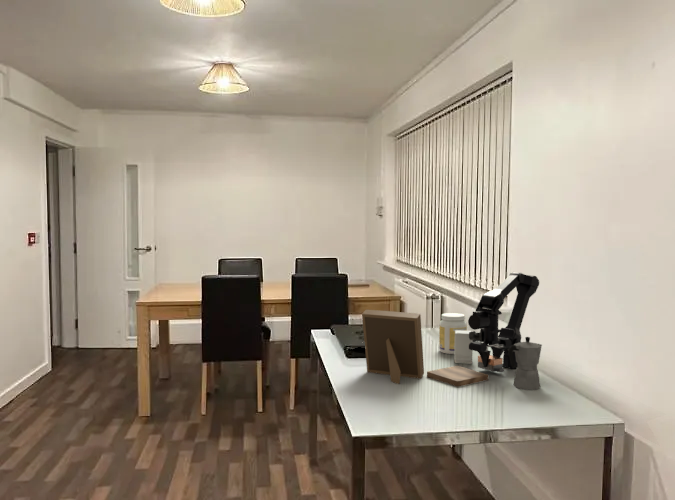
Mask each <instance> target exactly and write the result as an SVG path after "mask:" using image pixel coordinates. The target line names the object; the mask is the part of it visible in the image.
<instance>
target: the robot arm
mask: <svg viewBox="0 0 675 500" xmlns="http://www.w3.org/2000/svg"><path fill="white" fill-rule="evenodd" d="M539 285H540V279H538V277H537V276H536V275H530V274H525V273H522V272H515V271H513V272H509V275H508V276H507V278H505V279H504V280H503V281H502V282H501V283H499V285H498V286H497V287H496V288H494V289H493V290H490V291H489V290H488V291H487V292H486V293H484V294H483V295H482V296H481V298H480V299H479V302H478V304H477V306H476V309H475V310H473V311H472V314H471V315H469V317H468V320H467V324H468V326H469V328H471V331H472V332H469V339H470V340H472V341H473V342H470V343H469V349H470V350H472V351H474V352H477V353H478V354H479V356H481V359H482V362H483V365H484V367H487V365H488V361H489V356H490V355H491V351H492V356H496V357H500V358H503V362H502V368H506V369H507V368H508V369H511V370H514V369H515V370H516V368H512V365H511V362H510V358H509V354H508V349H509V348H510V346H512V345H514V344H516V343H520V342H522V341H521V340H522V333H521V326H522V324H523V320H524V317H525V313H526V311H527V307H528V305H529V301H530V298H531V297H532V296H534V294H535V293H536V292H537V290H538V288H539ZM515 288H516V292H517V295H516V299H515V300H514V304H513V307H512V310H511V314H510V316H509V319H508V323H507V325H506V326H505V327H501V328H500V329H499V315H502V311H500V309H501V308H502V306H503V305H504V303H505V298H506V297H507V296H508V295H509V294H510V293H511V292H512V291H513V290H515ZM476 330H479V332H476ZM489 348H490V349H491V350H489ZM513 358H514V361H515V362H514V364H515V365H517V367H518V363H517V362H516V356H515V350H514V351H513Z"/></svg>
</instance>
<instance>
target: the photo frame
mask: <svg viewBox="0 0 675 500" xmlns="http://www.w3.org/2000/svg"><path fill="white" fill-rule="evenodd" d="M421 316H422V315H421V313H418V312H416V313H414V312H406V311H405V312H403V311H401V312H400V311H393V310H392V311H391V310H379V309H378V310H377V309H365V310H364V311H363V312H362V313H361V318H362V329H363V342H365V363H366V364H365V365H366V371H367V373H371V374H372V373H373V374H374V373H375V374H381V375H388V376H390V382H392V383H394V384H397V385H400V382H401V377H403V378H413V379H420V380H421V379H422V378H423V376H424V374H425V368H424V366H425V364H424V352H423V351H424V349H423V348H424V347H423V336H422V335H423V334H422V333H423V331H422V318H421Z"/></svg>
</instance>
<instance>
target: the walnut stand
mask: <svg viewBox="0 0 675 500" xmlns="http://www.w3.org/2000/svg"><path fill="white" fill-rule="evenodd" d="M426 378H430V379H432V380H436V381H439V382H442V383H445V384H447V385H451V386H454V387H457V388H458V387H463V386H469V385H472V384H477V383H481V382H485V381H489V374H488V373H484V372H481V371H478V370H477V371H476V370H475V369H474V370H473V369H470V368H467V367H463V366H460V365H453V366H449V367H442V368H439V369H433V370H428V371H426Z"/></svg>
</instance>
